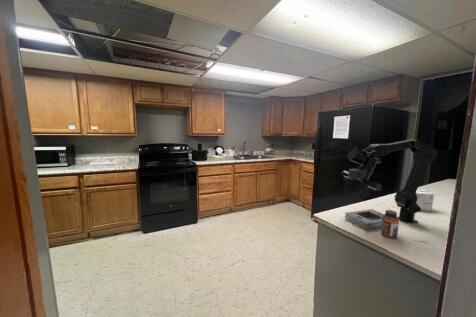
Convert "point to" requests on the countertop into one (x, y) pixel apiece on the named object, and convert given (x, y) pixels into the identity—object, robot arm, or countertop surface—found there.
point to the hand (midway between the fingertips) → (352, 194)
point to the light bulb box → (425, 200)
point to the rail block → (365, 219)
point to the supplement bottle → (390, 224)
